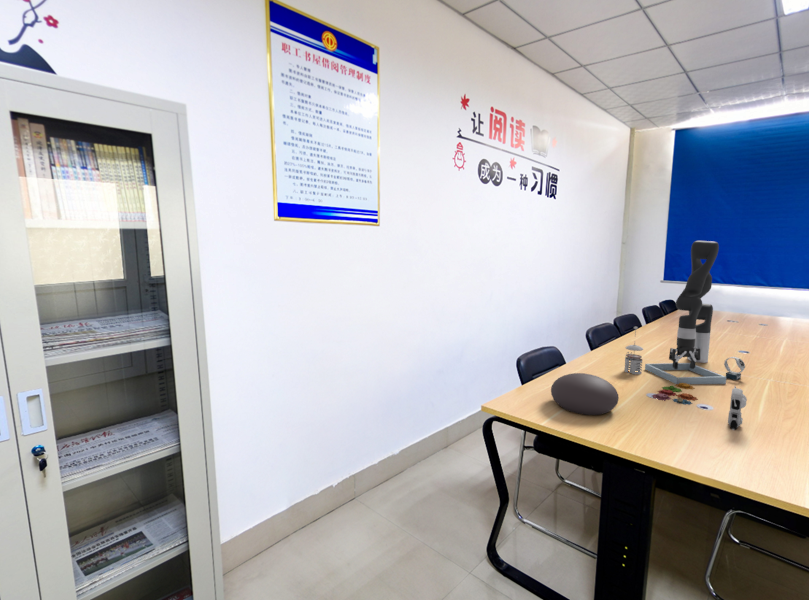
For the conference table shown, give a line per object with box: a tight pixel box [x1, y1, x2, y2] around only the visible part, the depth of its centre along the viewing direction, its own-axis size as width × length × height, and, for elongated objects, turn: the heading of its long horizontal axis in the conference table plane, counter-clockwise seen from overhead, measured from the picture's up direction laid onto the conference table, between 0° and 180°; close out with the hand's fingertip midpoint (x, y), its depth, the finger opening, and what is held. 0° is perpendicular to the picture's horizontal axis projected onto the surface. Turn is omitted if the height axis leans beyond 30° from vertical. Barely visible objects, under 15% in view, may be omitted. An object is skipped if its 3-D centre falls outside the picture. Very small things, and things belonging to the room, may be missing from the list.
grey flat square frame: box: [644, 362, 727, 385], centre depth 207 cm, size 24×24×4 cm
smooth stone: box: [550, 372, 619, 416], centre depth 166 cm, size 25×25×15 cm
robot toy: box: [727, 385, 748, 431], centre depth 148 cm, size 12×4×15 cm, turn 139°
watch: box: [723, 356, 746, 381], centre depth 204 cm, size 6×8×11 cm
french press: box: [623, 326, 644, 375], centre depth 212 cm, size 10×12×25 cm
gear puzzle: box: [651, 383, 699, 406], centre depth 183 cm, size 31×16×4 cm, turn 134°
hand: (683, 368), depth 207 cm, fingers open, 8 cm apart
